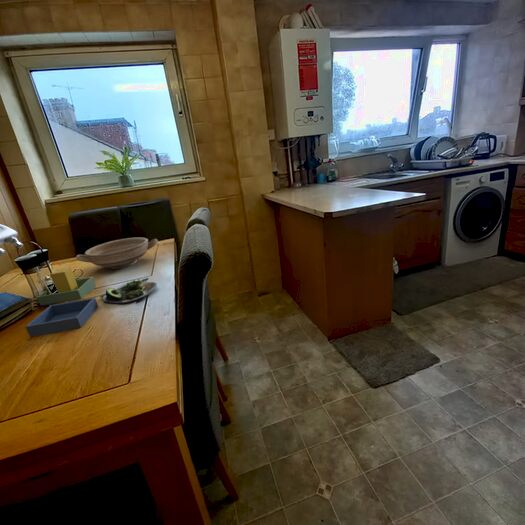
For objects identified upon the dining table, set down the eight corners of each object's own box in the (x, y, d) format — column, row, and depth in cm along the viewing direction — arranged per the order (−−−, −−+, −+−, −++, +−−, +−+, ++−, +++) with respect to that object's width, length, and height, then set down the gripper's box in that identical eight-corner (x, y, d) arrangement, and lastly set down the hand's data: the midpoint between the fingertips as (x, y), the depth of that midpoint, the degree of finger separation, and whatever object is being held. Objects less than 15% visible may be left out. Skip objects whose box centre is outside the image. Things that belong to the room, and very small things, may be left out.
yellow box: (60, 298, 106) (50, 274, 103) (66, 292, 111) (57, 269, 108) (73, 295, 107) (64, 271, 103) (79, 290, 112) (70, 267, 108)
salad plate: (133, 281, 116) (130, 271, 114) (168, 282, 110) (166, 272, 108) (94, 304, 99) (89, 293, 97) (133, 307, 93) (130, 295, 91)
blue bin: (31, 339, 81) (25, 326, 80) (55, 316, 94) (50, 305, 92) (82, 329, 83) (77, 317, 81) (99, 308, 95) (95, 297, 94)
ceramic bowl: (158, 249, 160) (154, 232, 156) (164, 262, 135) (159, 242, 132) (86, 265, 146) (79, 247, 143) (77, 283, 122) (69, 262, 118)
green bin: (41, 307, 102) (36, 297, 101) (59, 292, 114) (56, 282, 113) (81, 300, 104) (77, 290, 102) (96, 286, 116) (92, 276, 114)
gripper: (-11, 228, 106) (26, 249, 110) (-61, 241, 87) (-13, 265, 91) (-4, 215, 105) (34, 236, 109) (-52, 225, 86) (-4, 250, 90)
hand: (13, 250), depth 100 cm, fingers open, 8 cm apart
